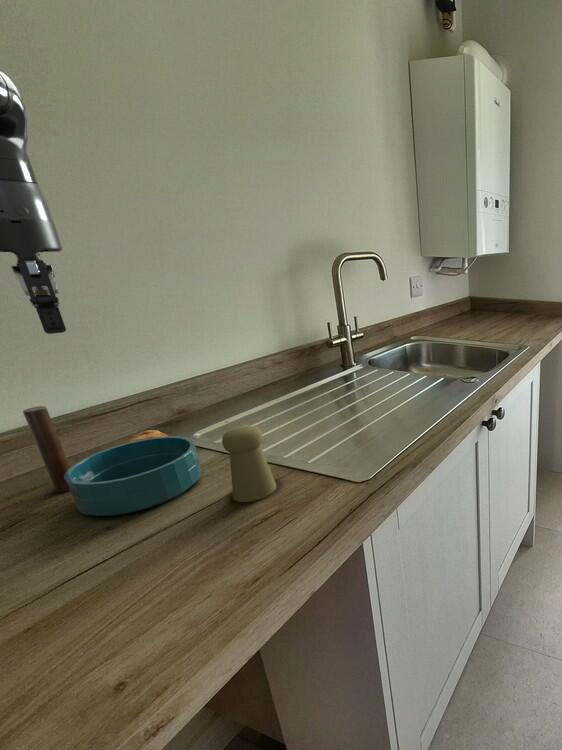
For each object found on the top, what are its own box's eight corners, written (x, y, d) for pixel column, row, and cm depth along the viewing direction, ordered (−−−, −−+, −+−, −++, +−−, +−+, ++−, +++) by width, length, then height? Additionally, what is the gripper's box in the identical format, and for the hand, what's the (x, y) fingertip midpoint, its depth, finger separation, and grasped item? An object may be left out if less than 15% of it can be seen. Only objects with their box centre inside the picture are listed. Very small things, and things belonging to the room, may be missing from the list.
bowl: (55, 507, 62) (41, 472, 60) (166, 460, 75) (157, 431, 73) (117, 530, 57) (103, 493, 55) (224, 475, 70) (215, 444, 68)
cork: (270, 476, 70) (257, 417, 66) (281, 491, 66) (268, 428, 62) (228, 491, 66) (212, 428, 62) (238, 507, 62) (221, 441, 58)
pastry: (173, 459, 76) (167, 441, 74) (124, 472, 71) (117, 453, 70) (171, 442, 82) (166, 425, 81) (127, 453, 78) (120, 435, 77)
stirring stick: (52, 490, 66) (19, 410, 62) (72, 483, 68) (40, 405, 64) (61, 493, 65) (27, 412, 61) (80, 485, 67) (49, 407, 63)
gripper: (-25, 218, 60) (18, 327, 65) (-33, 212, 51) (17, 339, 56) (50, 220, 66) (84, 321, 71) (54, 216, 57) (93, 331, 62)
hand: (54, 329), depth 64 cm, fingers open, 8 cm apart
